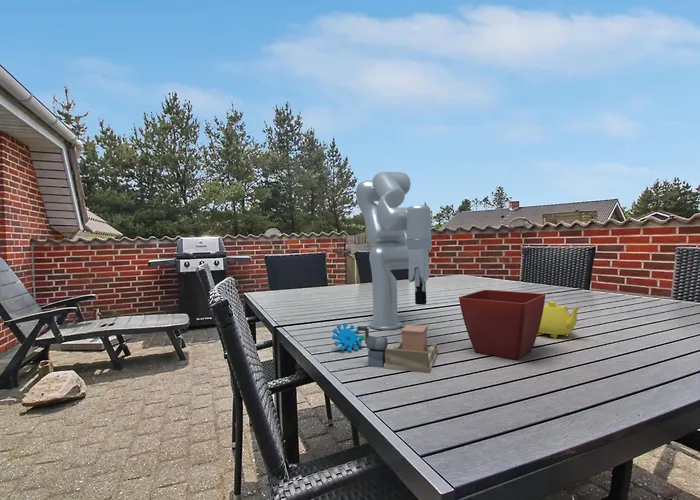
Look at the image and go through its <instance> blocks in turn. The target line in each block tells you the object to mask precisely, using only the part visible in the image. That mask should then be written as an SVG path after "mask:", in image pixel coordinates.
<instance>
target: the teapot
mask: <svg viewBox="0 0 700 500" xmlns="http://www.w3.org/2000/svg"><path fill="white" fill-rule="evenodd" d="M581 308H582V306H578V307H574V308H573V309H572V310H571V314H570V312H569V309H568V307H567V306H566V305H563V304H562V305H558V304H557V301H547V304H544V309H543V314H542V319H541V323H540V327H539V331H538V334H543V335H544V334H549V335H550V338H551V337H553V338H557V337H558V338H559V335H560V336H562V335H565V336H564V337H568V336H567V335H569V334H570V333H571V332H572V331H573V330H574V329H575V326H576V325H577V323H578V311H579V310H580V309H581ZM553 338H552V339H553Z"/></svg>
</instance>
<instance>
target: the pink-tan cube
mask: <svg viewBox="0 0 700 500" xmlns="http://www.w3.org/2000/svg"><path fill="white" fill-rule="evenodd" d="M401 340H402V349H403V350H415V351H427V349H429V348H428V347H429V346H428V326H427V325H415V324H406V325H405V326H404V328H402V329H401Z"/></svg>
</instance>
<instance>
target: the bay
mask: <svg viewBox="0 0 700 500" xmlns="http://www.w3.org/2000/svg"><path fill="white" fill-rule="evenodd" d="M356 330H358V331H360V332H361V331H363V332H364V335H365V338H364V339H365V342H364V344H365V345H366V349H367V350H368V351H367V357H368V358H367V361H368V364H367V365H368V366H369V367H377V368H384V369H389V370H397V371H398V370H399V371H408V372H409V371H410V372H418V373H419V372H420V373H430V372H431V370H432V368H433V366H434V363H435V361H436V359H437V357H438V355H439V349H437V348H438V347H437V344H438V343H437V342H431V345H430V347H429V348H428V349H427V351H415V350H403V349H402V339H401V340H398V341H397V343H396V344H395V345H394V346H393V347H392V348H389V347H388V342H389V341H388V337H386V336H377V335H376V336H374V335H370V334H369V332H370V331H369V330H370V329H369V327H368V326H365V325H364V326H362V325H359V326H357V328H356Z"/></svg>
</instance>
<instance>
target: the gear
mask: <svg viewBox="0 0 700 500" xmlns="http://www.w3.org/2000/svg"><path fill="white" fill-rule="evenodd" d="M348 325H349V324H348V323H346V322H344V323H343V324H337V325H336V328H334V329H332V333H333V334H332V336H331V339H332V340H335V341H334V346H335V347H337V346H339V345H341V346H340V347H339V350H341V352H343V351H344V350H345V348H346V347H348V348H347V349H346V352H348V353H351V352H352V351H358V350H359V347H361V346H362V345H363V340H364V339H365V333H364V334H362V335H360V332H361V331H358V330H357V329H356V330H354V329H355V325H353V324H350V326H349V328H347V327H348ZM342 328H343V329H342ZM352 346H353V349H352Z"/></svg>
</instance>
